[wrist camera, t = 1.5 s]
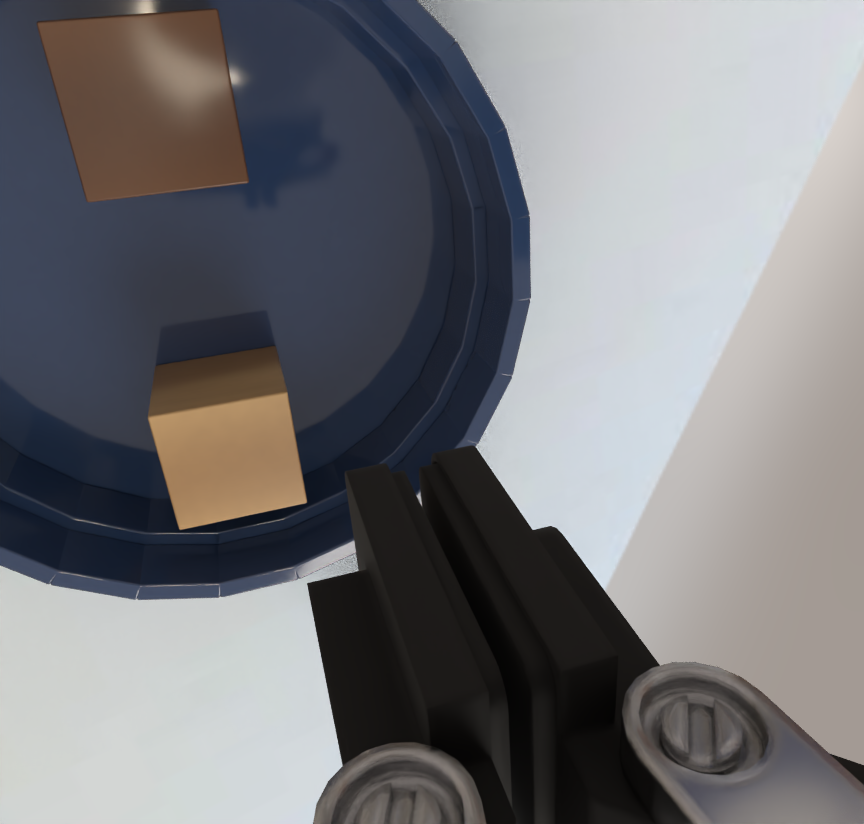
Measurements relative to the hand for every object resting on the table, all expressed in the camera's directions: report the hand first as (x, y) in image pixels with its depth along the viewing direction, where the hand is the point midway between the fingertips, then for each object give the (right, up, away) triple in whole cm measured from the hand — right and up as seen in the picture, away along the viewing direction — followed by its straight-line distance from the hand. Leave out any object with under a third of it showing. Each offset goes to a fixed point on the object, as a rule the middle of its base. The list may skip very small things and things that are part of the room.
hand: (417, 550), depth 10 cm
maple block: (-7, +2, +16) cm, 18 cm away
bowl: (-7, +7, +14) cm, 17 cm away
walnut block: (-8, +11, +11) cm, 18 cm away
